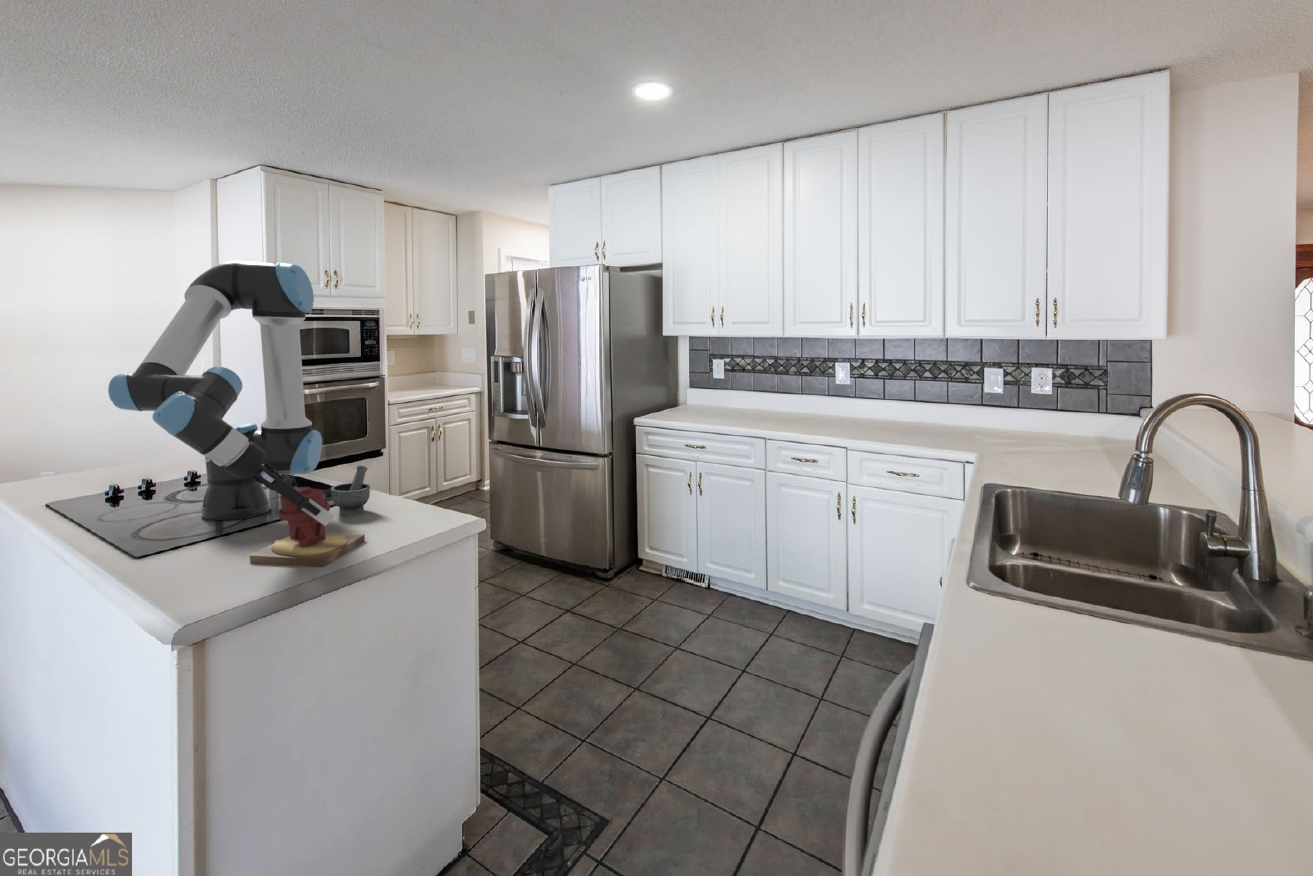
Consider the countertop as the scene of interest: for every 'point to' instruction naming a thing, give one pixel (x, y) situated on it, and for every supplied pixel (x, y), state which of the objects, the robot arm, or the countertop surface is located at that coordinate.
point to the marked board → (308, 550)
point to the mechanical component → (304, 518)
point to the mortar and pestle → (352, 494)
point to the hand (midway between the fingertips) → (322, 514)
